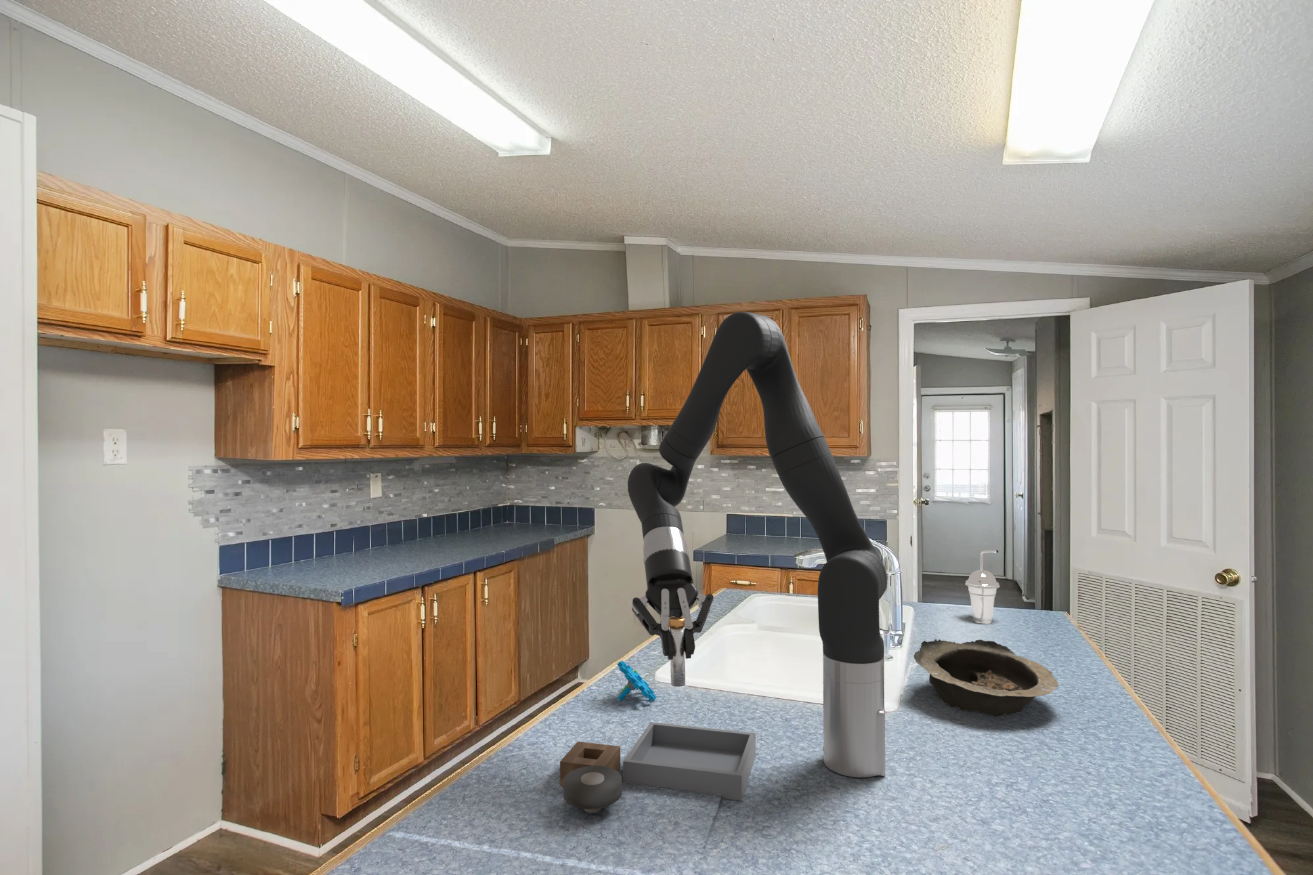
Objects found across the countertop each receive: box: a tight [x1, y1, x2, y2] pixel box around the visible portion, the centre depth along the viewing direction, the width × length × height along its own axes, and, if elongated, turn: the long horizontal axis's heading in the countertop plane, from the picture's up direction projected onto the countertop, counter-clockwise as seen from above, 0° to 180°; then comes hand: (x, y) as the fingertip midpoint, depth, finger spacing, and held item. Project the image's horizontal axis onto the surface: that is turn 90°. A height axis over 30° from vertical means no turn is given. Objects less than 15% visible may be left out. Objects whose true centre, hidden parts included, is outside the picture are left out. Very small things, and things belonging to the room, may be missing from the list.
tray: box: [622, 721, 757, 802], centre depth 111 cm, size 18×15×4 cm
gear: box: [616, 660, 657, 702], centre depth 141 cm, size 11×6×10 cm
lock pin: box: [669, 616, 686, 688], centre depth 110 cm, size 2×2×10 cm
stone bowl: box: [913, 638, 1060, 717], centre depth 138 cm, size 25×25×9 cm
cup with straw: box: [965, 549, 1001, 625], centre depth 193 cm, size 8×9×20 cm
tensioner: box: [559, 741, 623, 814], centre depth 104 cm, size 11×16×5 cm
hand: (680, 656), depth 108 cm, fingers closed on lock pin, 2 cm apart
